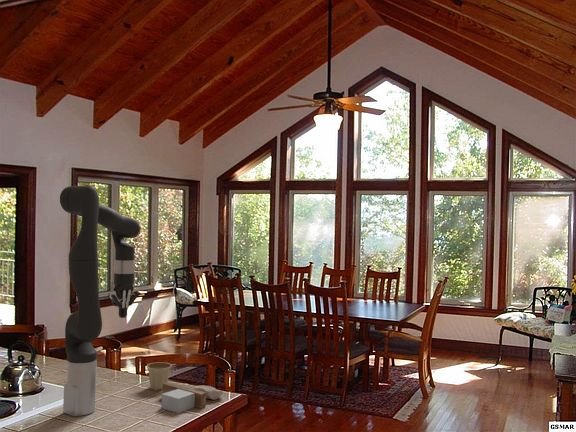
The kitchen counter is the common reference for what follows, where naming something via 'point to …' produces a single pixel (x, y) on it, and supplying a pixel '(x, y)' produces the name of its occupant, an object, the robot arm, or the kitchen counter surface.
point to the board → (199, 395)
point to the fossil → (209, 391)
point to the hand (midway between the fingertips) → (122, 317)
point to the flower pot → (158, 374)
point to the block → (178, 400)
